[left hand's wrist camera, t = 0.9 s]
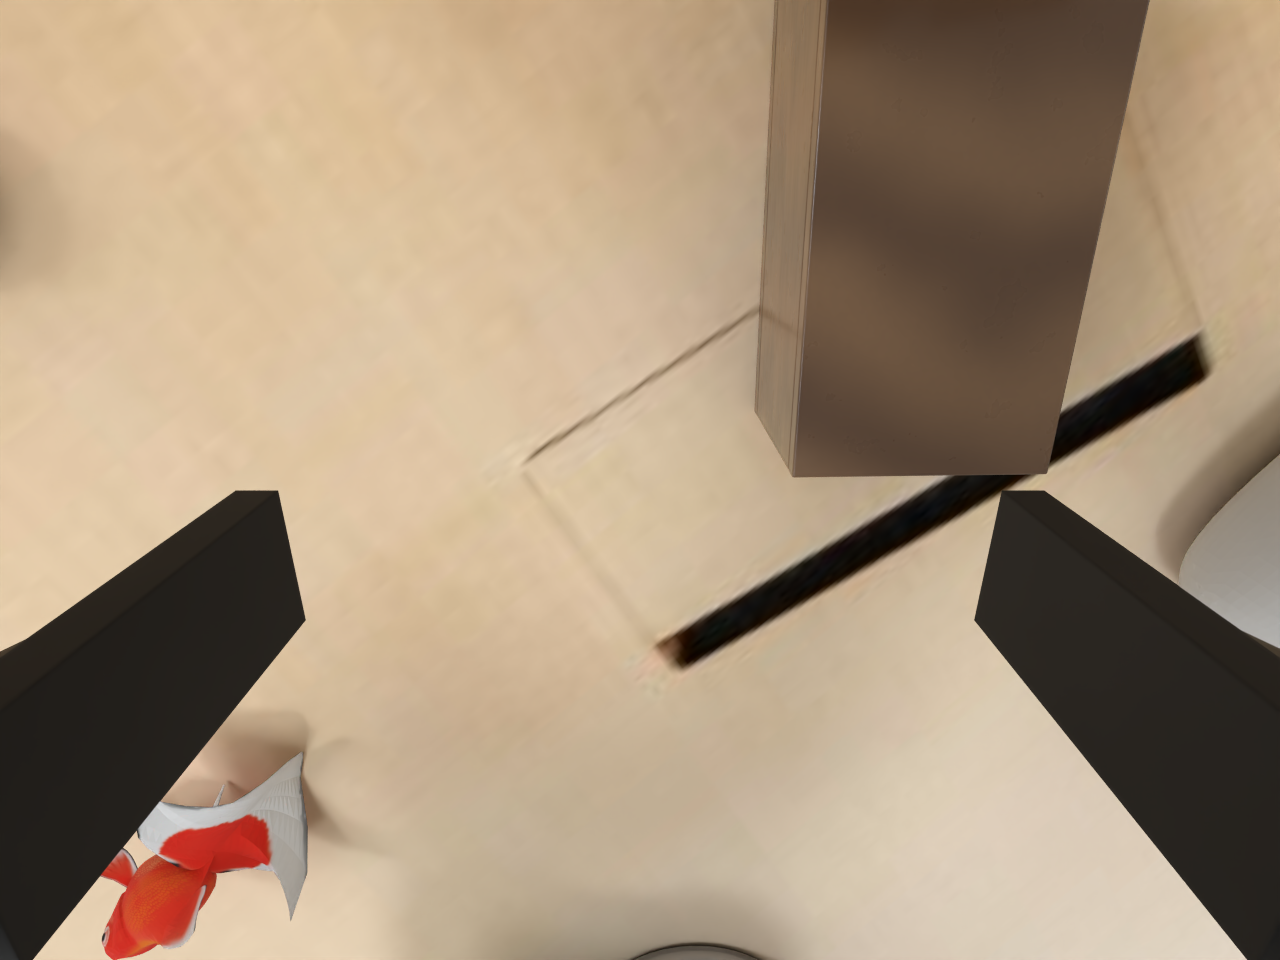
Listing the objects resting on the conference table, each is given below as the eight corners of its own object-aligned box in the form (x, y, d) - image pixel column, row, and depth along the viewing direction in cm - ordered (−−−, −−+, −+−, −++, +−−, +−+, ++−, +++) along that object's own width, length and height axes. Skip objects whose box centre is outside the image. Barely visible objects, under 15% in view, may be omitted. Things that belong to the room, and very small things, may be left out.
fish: (0, 839, 39) (-38, 1012, 32) (249, 665, 43) (268, 783, 36) (147, 901, 46) (144, 1055, 39) (352, 746, 50) (386, 859, 42)
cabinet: (774, -2, 29) (833, -94, 20) (1010, -6, 29) (1172, -100, 20) (754, 412, 35) (792, 478, 26) (946, 409, 35) (1047, 474, 26)
